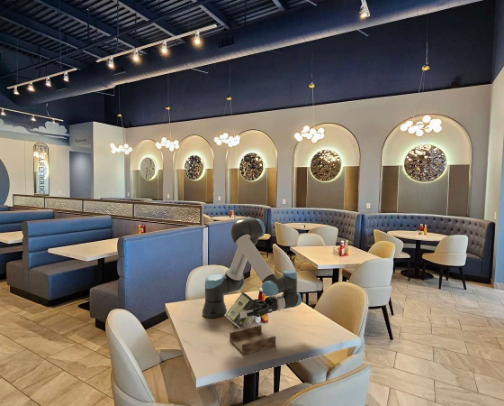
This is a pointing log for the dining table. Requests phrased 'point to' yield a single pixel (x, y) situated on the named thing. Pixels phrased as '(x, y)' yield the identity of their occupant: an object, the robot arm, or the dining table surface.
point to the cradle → (251, 340)
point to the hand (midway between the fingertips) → (235, 311)
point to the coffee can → (240, 309)
